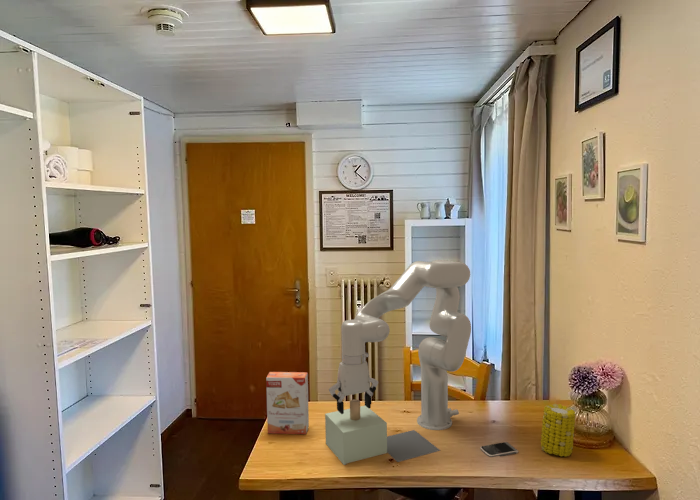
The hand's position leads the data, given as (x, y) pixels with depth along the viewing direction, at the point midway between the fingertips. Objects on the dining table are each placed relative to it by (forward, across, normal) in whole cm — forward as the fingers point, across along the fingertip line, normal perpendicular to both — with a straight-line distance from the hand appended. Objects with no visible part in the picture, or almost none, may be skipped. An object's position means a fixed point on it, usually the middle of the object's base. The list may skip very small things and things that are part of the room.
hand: (354, 409), depth 155 cm
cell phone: (+14, -41, +22) cm, 49 cm away
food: (+14, -58, +30) cm, 67 cm away
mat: (+13, -16, +6) cm, 22 cm away
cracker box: (+14, +16, -22) cm, 30 cm away
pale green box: (+13, 0, 0) cm, 13 cm away
